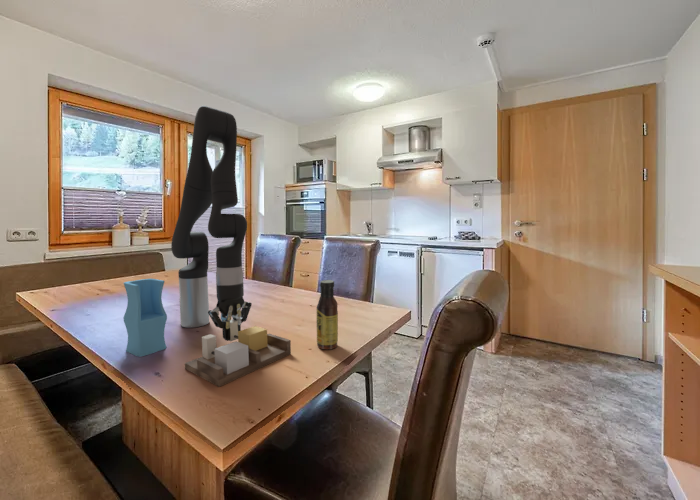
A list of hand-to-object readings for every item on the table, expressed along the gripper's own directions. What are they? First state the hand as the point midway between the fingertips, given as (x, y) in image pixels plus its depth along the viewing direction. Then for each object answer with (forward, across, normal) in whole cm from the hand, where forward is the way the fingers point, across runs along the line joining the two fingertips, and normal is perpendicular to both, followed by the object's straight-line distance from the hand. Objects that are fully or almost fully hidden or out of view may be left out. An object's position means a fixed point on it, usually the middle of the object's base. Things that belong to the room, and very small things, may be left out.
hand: (231, 338), depth 96 cm
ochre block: (0, 0, +6) cm, 6 cm away
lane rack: (+2, +5, +12) cm, 13 cm away
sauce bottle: (+2, -16, +24) cm, 29 cm away
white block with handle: (+1, +10, +11) cm, 15 cm away
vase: (+2, +16, -17) cm, 24 cm away
